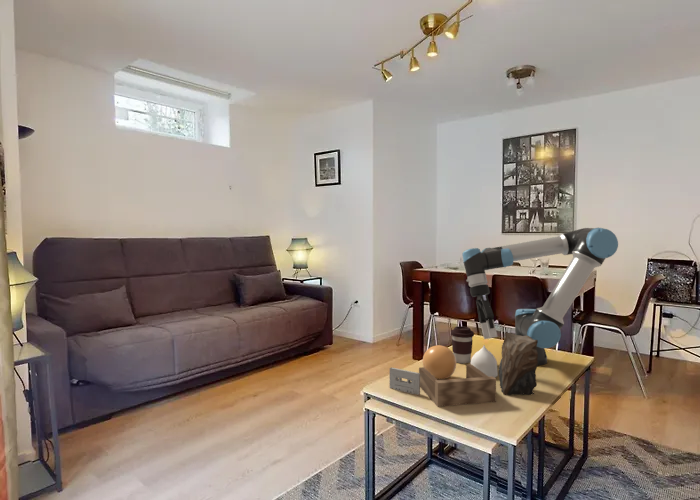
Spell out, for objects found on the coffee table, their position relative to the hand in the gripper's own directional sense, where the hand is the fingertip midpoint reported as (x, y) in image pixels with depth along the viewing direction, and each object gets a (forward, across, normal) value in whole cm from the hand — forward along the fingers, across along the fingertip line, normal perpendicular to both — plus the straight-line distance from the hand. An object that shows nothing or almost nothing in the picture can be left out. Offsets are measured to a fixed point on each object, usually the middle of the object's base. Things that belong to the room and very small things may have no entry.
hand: (490, 338), depth 166 cm
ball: (+6, +2, -22) cm, 23 cm away
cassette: (+14, +14, -37) cm, 42 cm away
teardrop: (+14, -8, -4) cm, 16 cm away
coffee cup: (+8, -22, -11) cm, 26 cm away
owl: (+20, +8, +2) cm, 21 cm away
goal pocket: (+17, +14, -19) cm, 29 cm away
